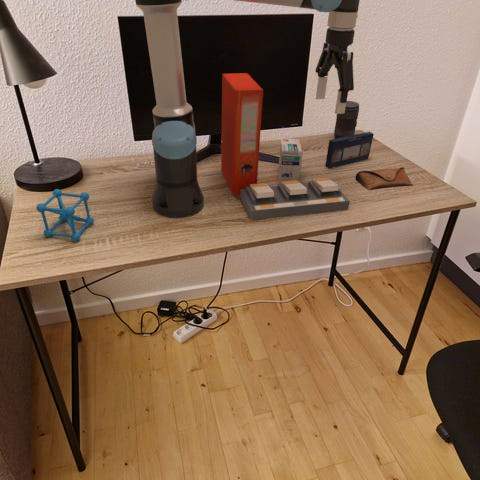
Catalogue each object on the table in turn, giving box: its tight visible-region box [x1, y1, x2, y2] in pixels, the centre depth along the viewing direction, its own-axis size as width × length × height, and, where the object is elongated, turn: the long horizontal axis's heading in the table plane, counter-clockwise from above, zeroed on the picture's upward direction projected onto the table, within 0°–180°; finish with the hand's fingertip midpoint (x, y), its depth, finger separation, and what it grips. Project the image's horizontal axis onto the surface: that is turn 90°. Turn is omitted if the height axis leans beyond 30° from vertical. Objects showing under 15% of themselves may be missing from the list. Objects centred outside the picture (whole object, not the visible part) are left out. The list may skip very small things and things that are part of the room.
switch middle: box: [280, 180, 307, 195], centre depth 129 cm, size 5×8×2 cm, turn 14°
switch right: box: [311, 177, 340, 192], centre depth 131 cm, size 5×8×2 cm, turn 14°
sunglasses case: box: [355, 166, 414, 191], centre depth 144 cm, size 18×7×7 cm, turn 106°
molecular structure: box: [35, 188, 95, 242], centre depth 113 cm, size 10×10×10 cm
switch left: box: [250, 182, 274, 198], centre depth 127 cm, size 5×8×2 cm, turn 14°
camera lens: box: [333, 100, 360, 139], centre depth 168 cm, size 8×8×15 cm
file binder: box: [220, 72, 264, 196], centre depth 132 cm, size 8×17×32 cm, turn 13°
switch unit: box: [239, 178, 351, 221], centre depth 130 cm, size 30×13×4 cm, turn 104°
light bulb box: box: [278, 138, 304, 182], centre depth 144 cm, size 11×7×11 cm, turn 179°
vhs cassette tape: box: [324, 131, 375, 169], centre depth 153 cm, size 18×3×10 cm, turn 118°
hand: (329, 105), depth 130 cm, fingers open, 13 cm apart
